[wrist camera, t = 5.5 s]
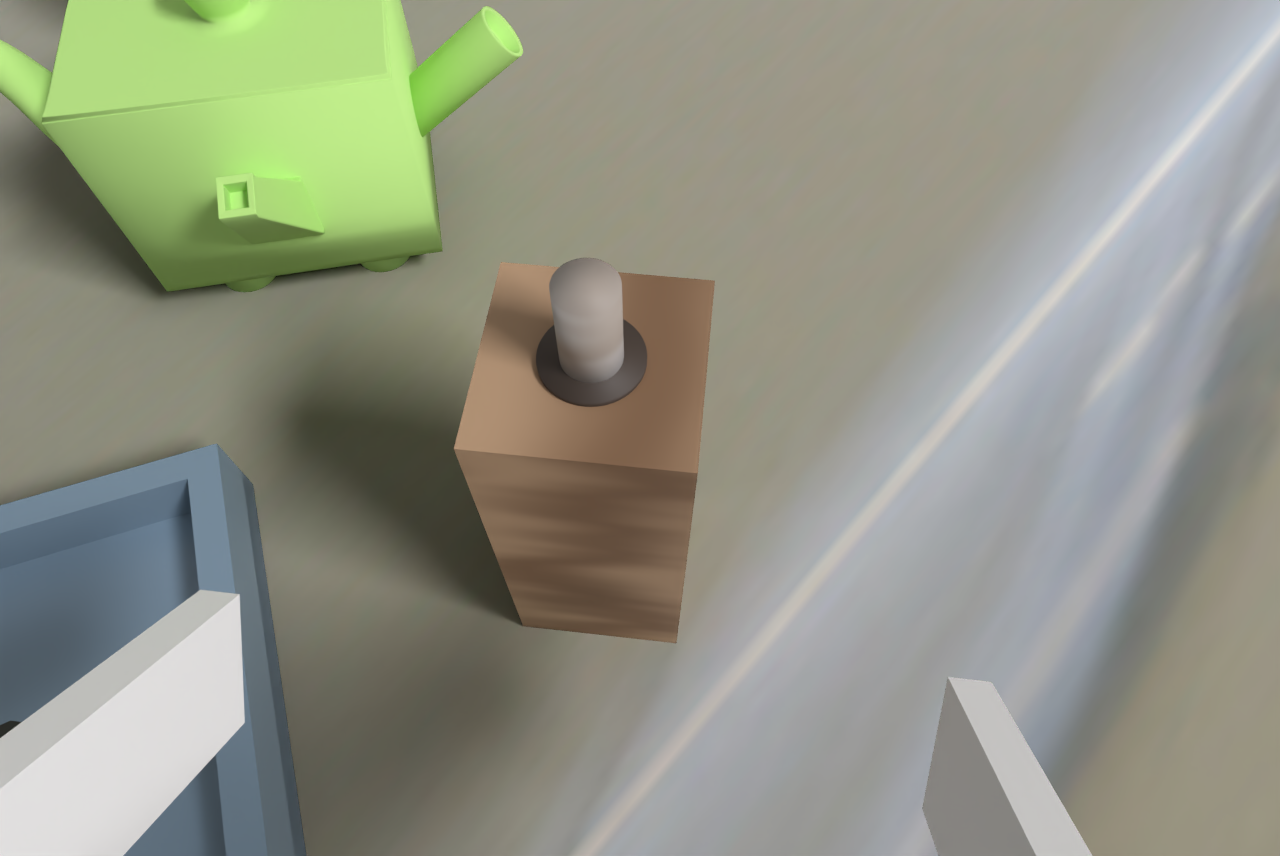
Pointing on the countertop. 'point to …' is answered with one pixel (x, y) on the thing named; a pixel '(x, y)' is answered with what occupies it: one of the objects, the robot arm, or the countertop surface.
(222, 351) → the countertop surface
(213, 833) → the tray
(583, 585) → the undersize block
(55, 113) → the kettle
